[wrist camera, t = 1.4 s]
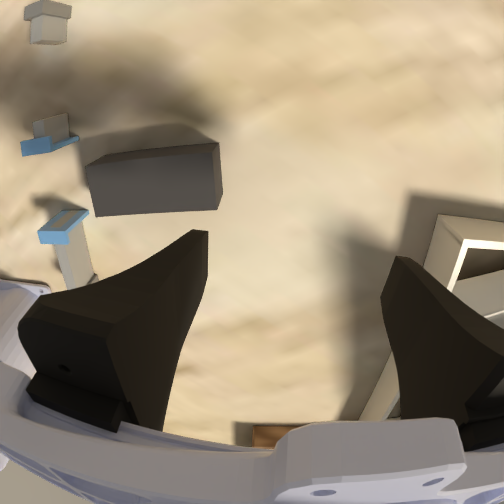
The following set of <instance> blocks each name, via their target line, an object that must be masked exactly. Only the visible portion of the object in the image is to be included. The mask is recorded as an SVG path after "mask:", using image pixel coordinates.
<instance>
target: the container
mask: <svg viewBox="0 0 504 504" xmlns="http://www.w3.org/2000/svg"><path fill="white" fill-rule="evenodd" d="M452 293H453V294H454V295H455V296H456V297H458V298H459V299H460V300H461V301H462V302H464V303H465V304H466V305H468V306H469V307H470V308H472V309H473V310H475V311H476V312H477V313H479V314H480V315H482V316H483V317H485V318H486V319H488V320H489V321H491V322H493V323H494V324H496V325H498V326H499V327H501V328H503V329H504V270H500V271H496V272H492V273H488V274H484V275H480V276H476V277H472V278H468V279H463V280H459V281H456V282H455V285H454V288H453V290H452ZM400 420H401V417H400Z"/></svg>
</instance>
